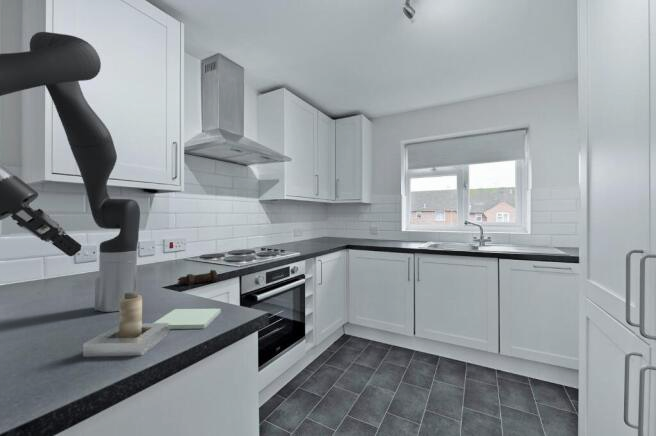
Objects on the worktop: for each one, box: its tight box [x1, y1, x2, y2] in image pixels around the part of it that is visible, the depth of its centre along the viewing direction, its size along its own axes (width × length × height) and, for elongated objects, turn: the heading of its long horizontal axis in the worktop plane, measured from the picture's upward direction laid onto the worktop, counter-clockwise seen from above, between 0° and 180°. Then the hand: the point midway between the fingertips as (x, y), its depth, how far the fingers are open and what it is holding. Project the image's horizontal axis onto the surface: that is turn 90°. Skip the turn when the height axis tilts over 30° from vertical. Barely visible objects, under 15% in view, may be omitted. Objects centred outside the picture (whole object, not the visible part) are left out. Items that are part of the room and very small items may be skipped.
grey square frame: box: [82, 322, 170, 358], centre depth 61 cm, size 11×11×2 cm
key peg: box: [118, 291, 143, 338], centre depth 61 cm, size 4×4×11 cm
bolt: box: [177, 269, 218, 286], centre depth 122 cm, size 6×5×15 cm
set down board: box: [153, 308, 222, 330], centre depth 76 cm, size 13×13×1 cm
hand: (77, 251), depth 56 cm, fingers open, 8 cm apart
